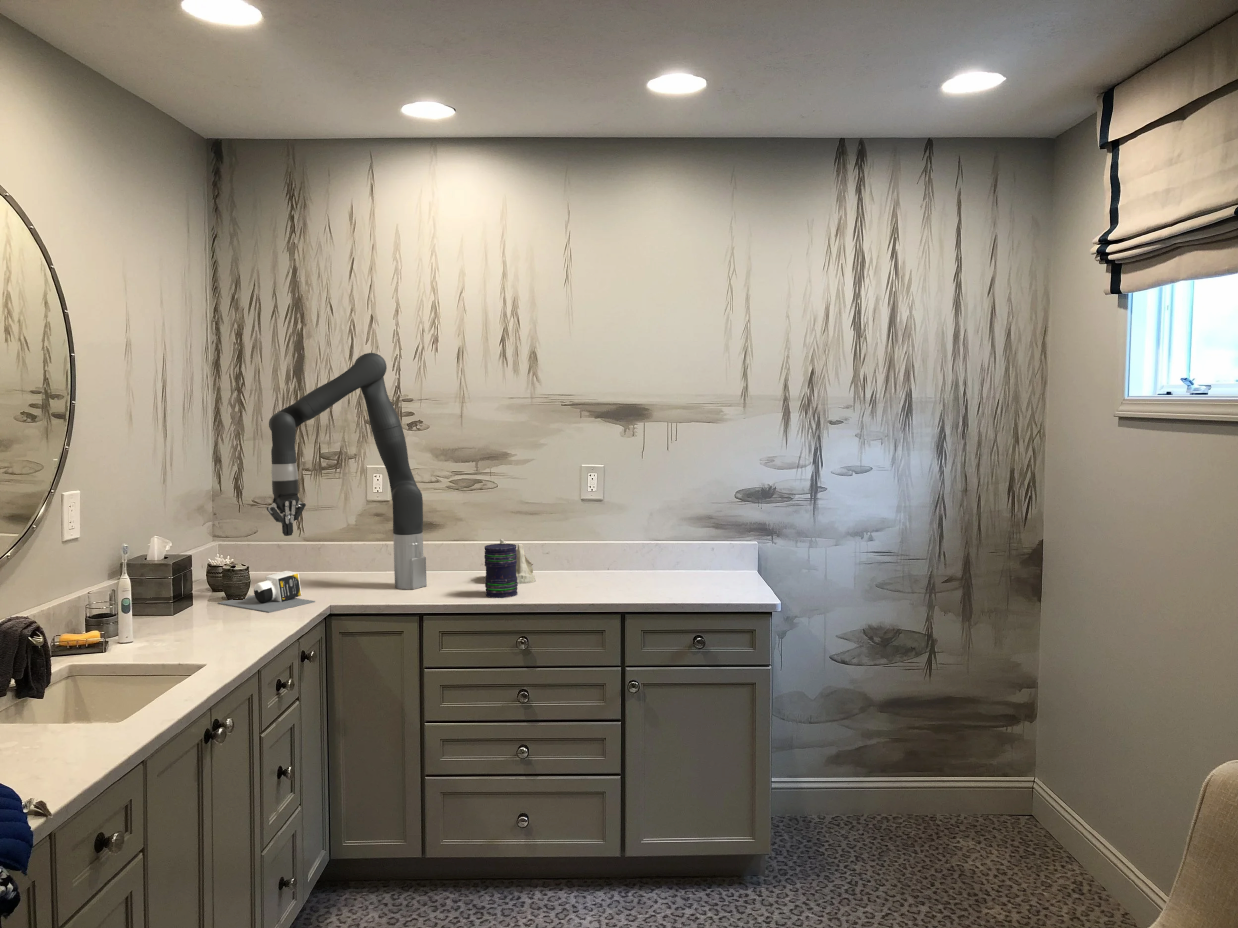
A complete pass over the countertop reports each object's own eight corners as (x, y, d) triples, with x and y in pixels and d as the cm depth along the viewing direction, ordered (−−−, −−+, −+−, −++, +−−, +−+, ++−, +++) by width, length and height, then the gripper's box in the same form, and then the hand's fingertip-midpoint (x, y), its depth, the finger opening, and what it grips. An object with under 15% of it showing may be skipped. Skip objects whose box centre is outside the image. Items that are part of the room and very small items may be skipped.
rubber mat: (315, 601, 281) (315, 600, 281) (269, 612, 267) (268, 611, 267) (264, 593, 294) (264, 592, 294) (217, 603, 280) (217, 602, 280)
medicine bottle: (302, 595, 285) (265, 607, 276) (290, 592, 290) (253, 603, 281) (298, 572, 284) (261, 583, 275) (286, 570, 288) (249, 580, 280)
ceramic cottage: (538, 582, 305) (535, 536, 304) (487, 588, 300) (484, 541, 300) (530, 577, 320) (526, 532, 319) (481, 582, 315) (478, 537, 315)
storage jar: (517, 597, 283) (516, 548, 282) (484, 598, 282) (482, 548, 281) (518, 590, 293) (517, 543, 291) (486, 591, 292) (485, 543, 291)
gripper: (274, 480, 277) (277, 539, 279) (311, 476, 288) (314, 533, 290) (258, 480, 282) (261, 537, 283) (295, 476, 293) (298, 531, 294)
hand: (288, 535), depth 286 cm, fingers closed
